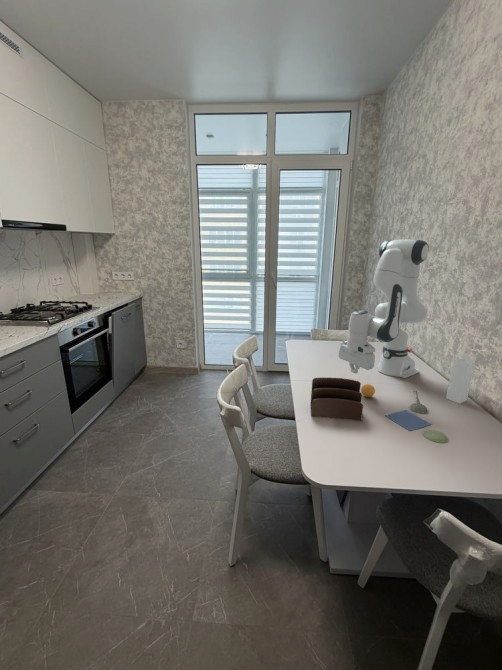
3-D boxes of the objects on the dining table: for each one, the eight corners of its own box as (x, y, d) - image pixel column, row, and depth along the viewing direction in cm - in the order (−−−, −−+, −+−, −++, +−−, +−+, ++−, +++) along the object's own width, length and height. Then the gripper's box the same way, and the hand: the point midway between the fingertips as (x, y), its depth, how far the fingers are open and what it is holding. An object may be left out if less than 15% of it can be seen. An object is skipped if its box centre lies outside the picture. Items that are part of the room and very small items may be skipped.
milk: (466, 401, 140) (477, 355, 134) (459, 404, 138) (470, 357, 131) (452, 395, 146) (462, 351, 139) (445, 398, 143) (455, 353, 137)
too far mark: (432, 428, 118) (432, 427, 118) (453, 439, 111) (453, 439, 111) (418, 432, 115) (418, 432, 115) (438, 445, 108) (438, 444, 108)
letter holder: (310, 405, 135) (312, 375, 131) (357, 409, 132) (361, 378, 128) (310, 417, 125) (313, 385, 122) (361, 421, 123) (365, 389, 119)
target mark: (405, 410, 131) (405, 409, 131) (431, 424, 121) (431, 424, 121) (384, 415, 127) (384, 415, 127) (409, 431, 116) (409, 430, 116)
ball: (367, 392, 147) (368, 381, 145) (377, 398, 142) (378, 386, 140) (357, 394, 145) (359, 383, 143) (367, 400, 139) (368, 388, 138)
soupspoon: (409, 414, 130) (427, 419, 128) (411, 408, 129) (429, 412, 127) (407, 391, 149) (422, 395, 147) (409, 385, 148) (424, 388, 146)
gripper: (336, 340, 153) (334, 366, 157) (367, 351, 135) (364, 380, 139) (346, 339, 156) (344, 365, 159) (378, 349, 138) (375, 378, 141)
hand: (354, 372), depth 149 cm, fingers closed
